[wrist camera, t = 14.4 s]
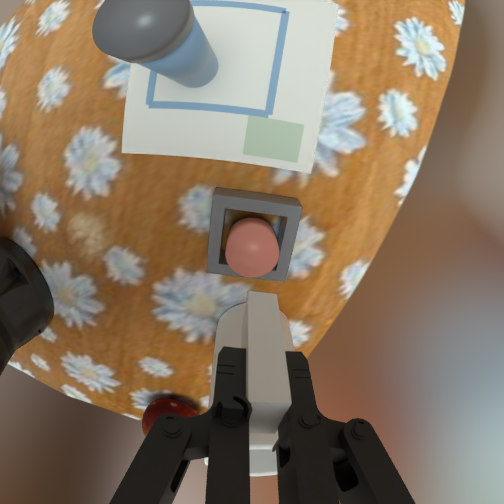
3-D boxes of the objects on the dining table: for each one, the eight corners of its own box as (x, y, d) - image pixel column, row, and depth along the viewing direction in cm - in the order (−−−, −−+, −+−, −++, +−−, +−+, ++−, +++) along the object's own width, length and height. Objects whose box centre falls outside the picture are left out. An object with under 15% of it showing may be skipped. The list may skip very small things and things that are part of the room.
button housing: (209, 259, 26) (206, 272, 24) (216, 187, 23) (213, 194, 20) (281, 267, 26) (285, 281, 24) (297, 198, 23) (302, 207, 21)
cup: (246, 288, 27) (247, 439, 13) (304, 323, 30) (333, 455, 16) (203, 334, 30) (185, 464, 16) (258, 361, 33) (264, 479, 19)
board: (125, 151, 21) (121, 153, 20) (152, -9, 14) (149, -13, 13) (308, 171, 22) (310, 174, 21) (335, 7, 15) (338, 4, 14)
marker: (169, 89, 18) (86, 64, 7) (174, 47, 16) (102, -13, 5) (217, 89, 18) (179, 51, 7) (222, 46, 16) (194, -30, 5)
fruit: (177, 385, 35) (169, 431, 28) (214, 412, 39) (211, 453, 32) (136, 396, 38) (125, 435, 30) (172, 420, 41) (166, 457, 34)
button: (225, 258, 23) (222, 274, 21) (230, 214, 21) (228, 226, 19) (271, 264, 24) (273, 280, 21) (280, 220, 22) (284, 233, 20)
